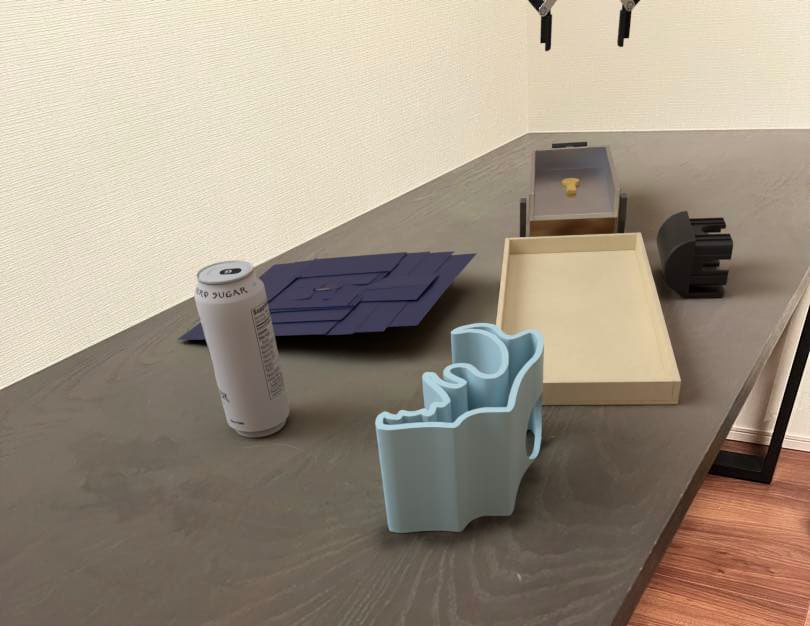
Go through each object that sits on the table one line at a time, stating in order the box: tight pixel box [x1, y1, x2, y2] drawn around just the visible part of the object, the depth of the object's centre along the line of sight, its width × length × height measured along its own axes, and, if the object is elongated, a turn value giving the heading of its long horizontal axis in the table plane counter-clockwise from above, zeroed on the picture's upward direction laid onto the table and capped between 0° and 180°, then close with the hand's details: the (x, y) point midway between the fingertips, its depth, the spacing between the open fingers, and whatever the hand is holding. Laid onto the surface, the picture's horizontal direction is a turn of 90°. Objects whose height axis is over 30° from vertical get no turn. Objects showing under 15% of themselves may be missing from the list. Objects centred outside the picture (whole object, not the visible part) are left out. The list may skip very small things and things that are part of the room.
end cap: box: [656, 210, 734, 299], centre depth 91 cm, size 10×7×7 cm
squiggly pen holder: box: [374, 322, 544, 534], centre depth 64 cm, size 18×10×9 cm, turn 162°
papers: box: [177, 250, 478, 341], centre depth 95 cm, size 24×30×4 cm
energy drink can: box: [193, 259, 291, 438], centre depth 71 cm, size 6×6×15 cm
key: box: [562, 178, 580, 194], centre depth 109 cm, size 6×2×1 cm, turn 172°
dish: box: [528, 141, 621, 222], centre depth 110 cm, size 11×26×3 cm, turn 172°
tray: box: [495, 232, 682, 406], centre depth 88 cm, size 17×39×2 cm, turn 172°
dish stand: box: [519, 192, 628, 237], centre depth 111 cm, size 14×19×6 cm
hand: (583, 47), depth 107 cm, fingers open, 9 cm apart
